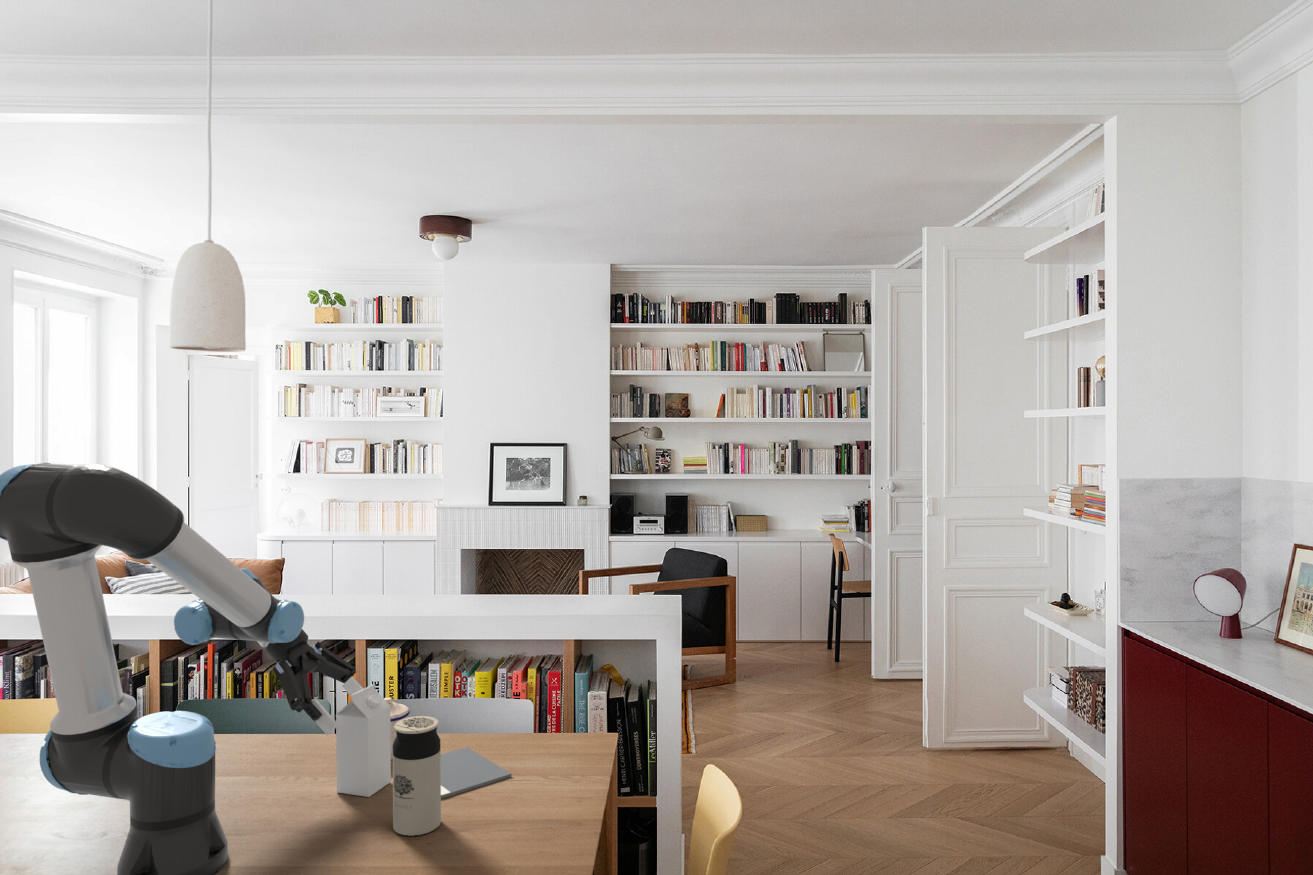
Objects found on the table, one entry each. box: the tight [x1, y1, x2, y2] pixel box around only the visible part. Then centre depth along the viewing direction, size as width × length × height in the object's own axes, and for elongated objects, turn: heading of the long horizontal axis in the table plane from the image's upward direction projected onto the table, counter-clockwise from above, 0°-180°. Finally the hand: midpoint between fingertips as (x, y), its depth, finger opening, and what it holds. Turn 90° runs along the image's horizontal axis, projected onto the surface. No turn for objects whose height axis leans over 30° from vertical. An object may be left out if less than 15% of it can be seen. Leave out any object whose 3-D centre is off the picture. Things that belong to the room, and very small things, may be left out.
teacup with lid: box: [383, 697, 411, 761], centre depth 178 cm, size 12×9×12 cm
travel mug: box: [392, 715, 442, 837], centre depth 147 cm, size 8×8×18 cm
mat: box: [440, 746, 512, 800], centre depth 169 cm, size 18×16×1 cm
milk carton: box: [335, 683, 392, 798], centre depth 162 cm, size 7×7×19 cm
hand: (351, 717), depth 165 cm, fingers open, 13 cm apart
